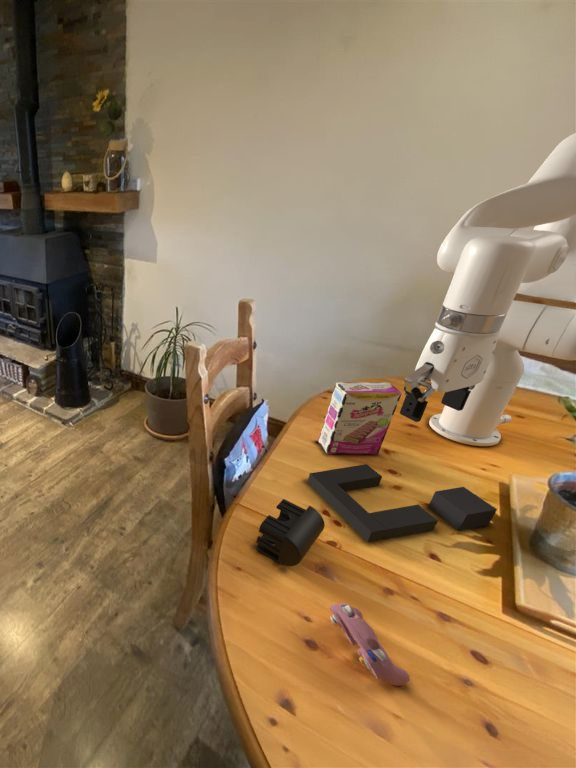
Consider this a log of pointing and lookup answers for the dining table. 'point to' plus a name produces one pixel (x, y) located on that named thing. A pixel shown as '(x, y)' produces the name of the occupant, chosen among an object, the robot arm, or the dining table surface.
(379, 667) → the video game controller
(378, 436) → the candy bar box
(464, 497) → the black square block
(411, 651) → the dining table surface
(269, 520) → the end cap
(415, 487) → the dining table surface
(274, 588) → the dining table surface
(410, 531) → the notch pad
